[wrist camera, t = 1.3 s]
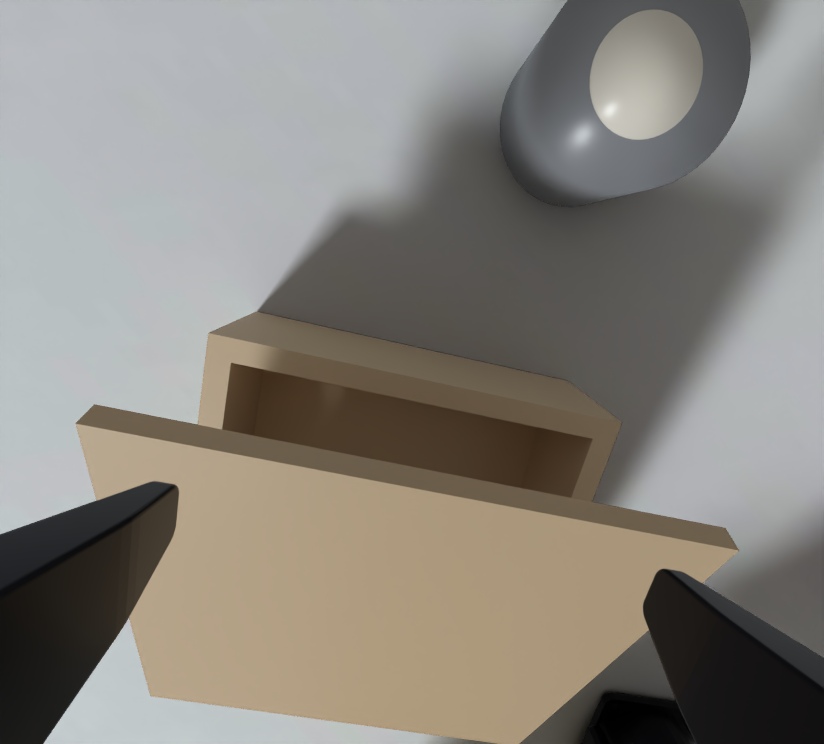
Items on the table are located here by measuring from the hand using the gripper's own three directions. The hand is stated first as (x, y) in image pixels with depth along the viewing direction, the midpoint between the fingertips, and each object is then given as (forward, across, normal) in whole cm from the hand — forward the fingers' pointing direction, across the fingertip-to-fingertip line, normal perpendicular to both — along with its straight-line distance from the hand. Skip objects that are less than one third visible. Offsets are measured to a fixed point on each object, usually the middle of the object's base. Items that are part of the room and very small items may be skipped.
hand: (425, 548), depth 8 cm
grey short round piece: (+12, -4, -11) cm, 17 cm away
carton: (+12, 0, +6) cm, 13 cm away
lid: (+4, 0, +6) cm, 8 cm away
